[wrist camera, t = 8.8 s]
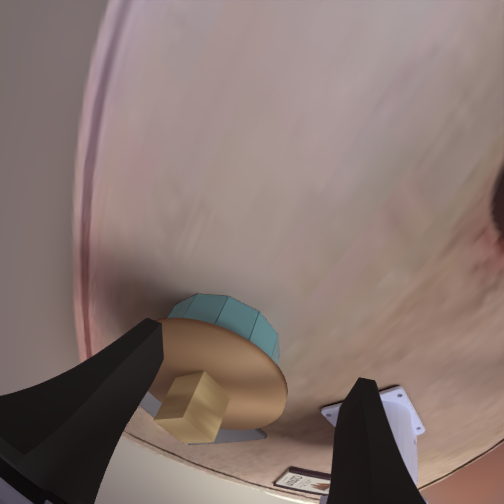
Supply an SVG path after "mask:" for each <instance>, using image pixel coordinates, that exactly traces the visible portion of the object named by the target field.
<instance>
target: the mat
mask: <svg viewBox="0 0 504 504" xmlns="http://www.w3.org/2000/svg"><path fill="white" fill-rule="evenodd" d="M161 405H162V403H161V402H160V401H158V400H157V399H156V398H155V397H154V396H152V395H151V394H150V393H149V392H148V391H147V393H146V395H145V396H144V398H143V399H142V401H141V403H140V404H139V406H141V407H142V408H143V409H144V410H145V411H146V412H148V413H149V414H150V415H151V416H152V417H154V418H155V416H156V414H157V412H158V410H159V408H160V407H161ZM266 437H267V435H266V434H264V433H263V432H262V431H261V430H260V429H258V428H257V429H251V430H227V429H220V428H219V430H218V433H217V435H216V438H215V441H214V442H210V443H187V444H189V445H194V444H214V443H228V442H239V441H249V440H258V439H266Z"/></svg>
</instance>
